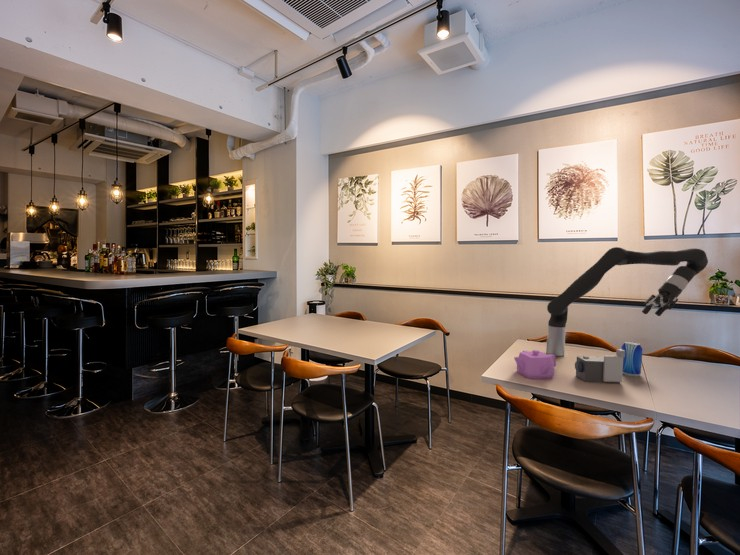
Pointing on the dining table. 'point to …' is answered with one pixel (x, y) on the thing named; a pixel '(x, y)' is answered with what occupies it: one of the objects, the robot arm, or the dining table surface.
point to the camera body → (590, 369)
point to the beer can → (632, 358)
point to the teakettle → (535, 364)
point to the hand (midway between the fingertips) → (650, 314)
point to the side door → (613, 367)
